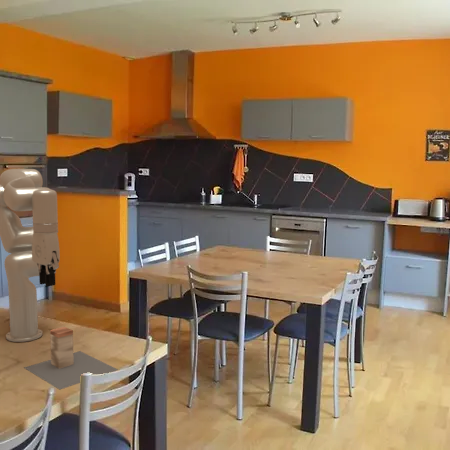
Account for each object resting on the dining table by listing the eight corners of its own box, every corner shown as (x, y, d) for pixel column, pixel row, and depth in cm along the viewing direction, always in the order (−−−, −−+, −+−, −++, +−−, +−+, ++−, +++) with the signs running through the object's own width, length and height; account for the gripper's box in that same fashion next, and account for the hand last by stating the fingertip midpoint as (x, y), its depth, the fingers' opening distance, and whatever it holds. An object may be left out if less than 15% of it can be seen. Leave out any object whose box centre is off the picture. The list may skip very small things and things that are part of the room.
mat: (23, 369, 167) (23, 367, 167) (80, 352, 181) (80, 350, 181) (59, 391, 152) (59, 389, 152) (118, 371, 167) (118, 369, 166)
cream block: (51, 364, 170) (50, 330, 168) (65, 359, 174) (64, 326, 172) (59, 368, 167) (58, 334, 165) (73, 364, 170) (72, 330, 169)
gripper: (22, 226, 173) (24, 282, 175) (47, 232, 161) (49, 291, 164) (43, 224, 178) (45, 278, 180) (69, 230, 167) (71, 287, 169)
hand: (47, 284), depth 172 cm, fingers open, 3 cm apart
